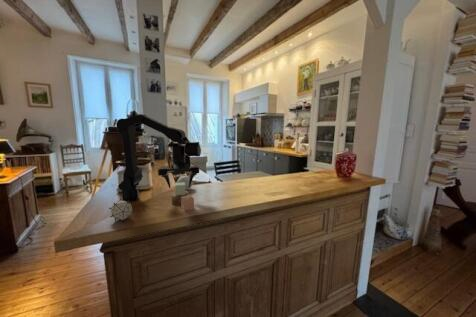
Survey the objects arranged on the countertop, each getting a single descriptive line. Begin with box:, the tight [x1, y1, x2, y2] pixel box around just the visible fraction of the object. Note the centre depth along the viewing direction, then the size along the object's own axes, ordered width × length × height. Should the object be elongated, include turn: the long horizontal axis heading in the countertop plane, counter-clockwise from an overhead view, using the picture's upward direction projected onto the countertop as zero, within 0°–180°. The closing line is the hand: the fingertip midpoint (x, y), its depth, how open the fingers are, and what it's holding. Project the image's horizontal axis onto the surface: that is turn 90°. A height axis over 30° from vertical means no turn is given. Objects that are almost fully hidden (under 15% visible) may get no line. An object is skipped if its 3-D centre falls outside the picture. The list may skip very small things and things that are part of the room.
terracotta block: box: [180, 194, 195, 212], centre depth 91 cm, size 4×4×5 cm
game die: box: [108, 197, 136, 223], centre depth 78 cm, size 9×8×10 cm
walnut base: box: [171, 190, 189, 205], centre depth 99 cm, size 7×7×4 cm
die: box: [175, 175, 194, 191], centre depth 117 cm, size 8×9×10 cm
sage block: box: [175, 182, 186, 195], centre depth 99 cm, size 4×4×5 cm
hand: (179, 187), depth 98 cm, fingers open, 9 cm apart
